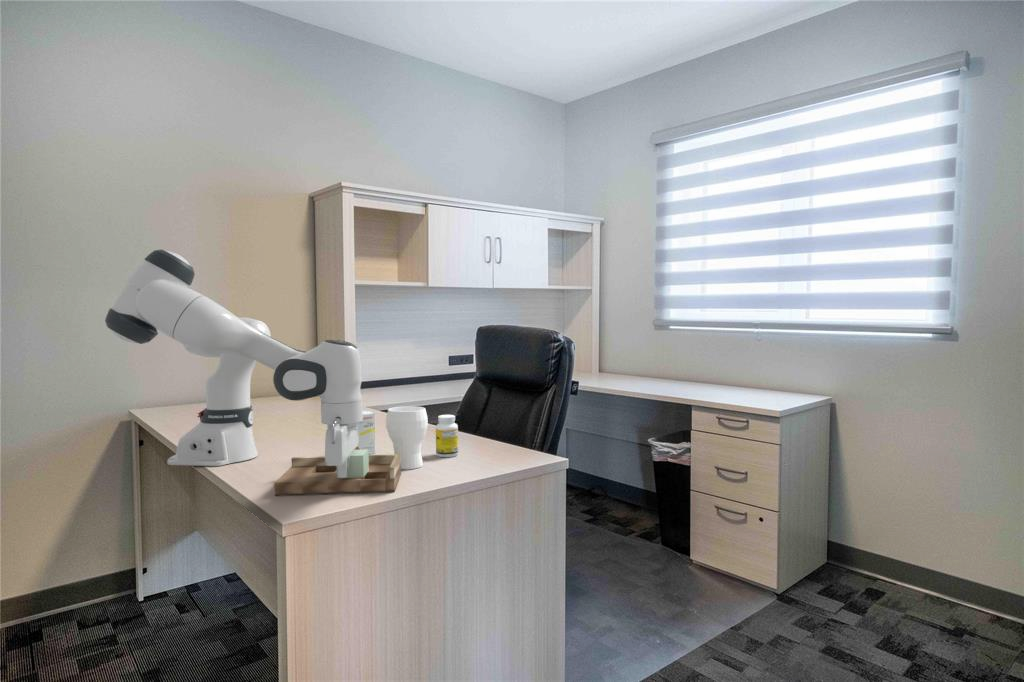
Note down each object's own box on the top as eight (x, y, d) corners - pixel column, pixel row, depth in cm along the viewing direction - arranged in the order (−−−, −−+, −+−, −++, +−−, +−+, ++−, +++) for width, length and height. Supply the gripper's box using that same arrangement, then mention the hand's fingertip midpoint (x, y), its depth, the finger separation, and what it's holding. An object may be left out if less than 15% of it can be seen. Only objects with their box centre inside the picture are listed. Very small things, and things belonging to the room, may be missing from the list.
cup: (380, 465, 161) (378, 408, 160) (416, 459, 168) (415, 404, 167) (398, 473, 153) (397, 413, 152) (435, 466, 159) (434, 409, 158)
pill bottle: (436, 452, 175) (435, 414, 174) (458, 452, 175) (457, 413, 175) (435, 458, 169) (435, 418, 168) (458, 457, 169) (457, 417, 169)
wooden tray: (274, 496, 135) (273, 471, 135) (293, 477, 150) (292, 455, 150) (394, 492, 137) (394, 467, 137) (400, 474, 152) (400, 452, 152)
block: (336, 478, 138) (336, 455, 138) (343, 471, 144) (342, 450, 144) (363, 477, 138) (363, 455, 138) (368, 470, 144) (368, 449, 144)
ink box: (348, 458, 169) (347, 415, 169) (340, 455, 173) (339, 413, 172) (376, 453, 175) (375, 412, 174) (368, 450, 178) (367, 410, 178)
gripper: (348, 421, 125) (349, 489, 125) (363, 406, 145) (365, 464, 146) (316, 422, 124) (318, 490, 125) (336, 406, 145) (338, 465, 145)
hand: (343, 476), depth 136 cm, fingers closed
